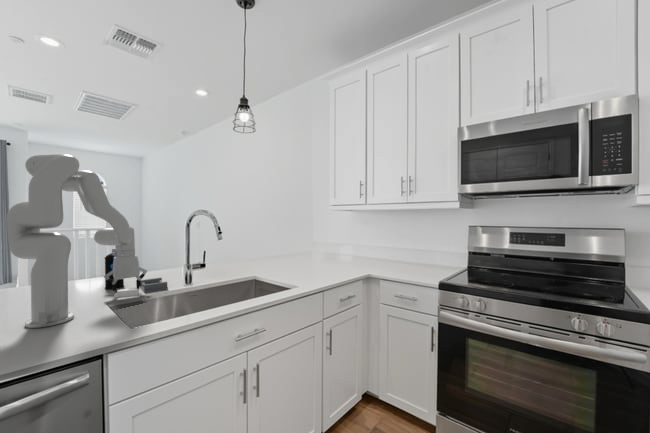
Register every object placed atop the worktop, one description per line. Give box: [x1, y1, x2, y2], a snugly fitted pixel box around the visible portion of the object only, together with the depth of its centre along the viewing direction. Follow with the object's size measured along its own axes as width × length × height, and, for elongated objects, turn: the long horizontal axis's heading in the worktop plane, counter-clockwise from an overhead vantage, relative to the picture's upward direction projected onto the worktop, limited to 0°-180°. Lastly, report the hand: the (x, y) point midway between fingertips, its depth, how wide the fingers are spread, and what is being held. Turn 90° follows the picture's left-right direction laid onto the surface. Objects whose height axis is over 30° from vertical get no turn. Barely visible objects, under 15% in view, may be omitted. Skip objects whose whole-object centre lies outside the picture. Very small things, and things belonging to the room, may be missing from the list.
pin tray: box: [139, 277, 169, 294], centre depth 149 cm, size 16×10×4 cm, turn 40°
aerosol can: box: [104, 248, 125, 291], centre depth 150 cm, size 8×8×20 cm
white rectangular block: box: [114, 287, 140, 298], centre depth 137 cm, size 5×9×3 cm, turn 118°
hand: (127, 290), depth 137 cm, fingers closed on white rectangular block, 8 cm apart
